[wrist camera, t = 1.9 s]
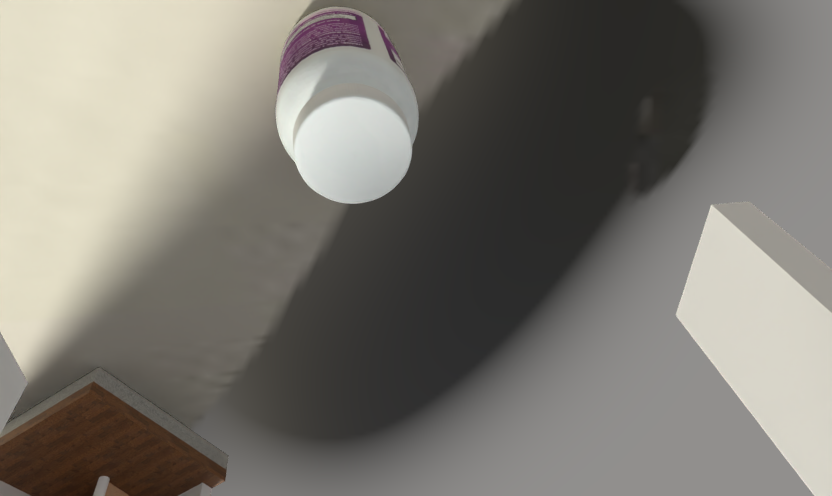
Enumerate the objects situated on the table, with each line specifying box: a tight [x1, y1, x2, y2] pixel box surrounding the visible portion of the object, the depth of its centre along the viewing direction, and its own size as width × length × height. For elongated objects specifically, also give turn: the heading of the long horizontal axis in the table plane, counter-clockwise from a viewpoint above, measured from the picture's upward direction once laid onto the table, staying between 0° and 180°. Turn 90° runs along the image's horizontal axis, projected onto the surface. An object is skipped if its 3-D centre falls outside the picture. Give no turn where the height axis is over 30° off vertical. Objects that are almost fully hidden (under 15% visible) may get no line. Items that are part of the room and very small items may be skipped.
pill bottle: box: [275, 6, 419, 204], centre depth 23 cm, size 5×5×10 cm
